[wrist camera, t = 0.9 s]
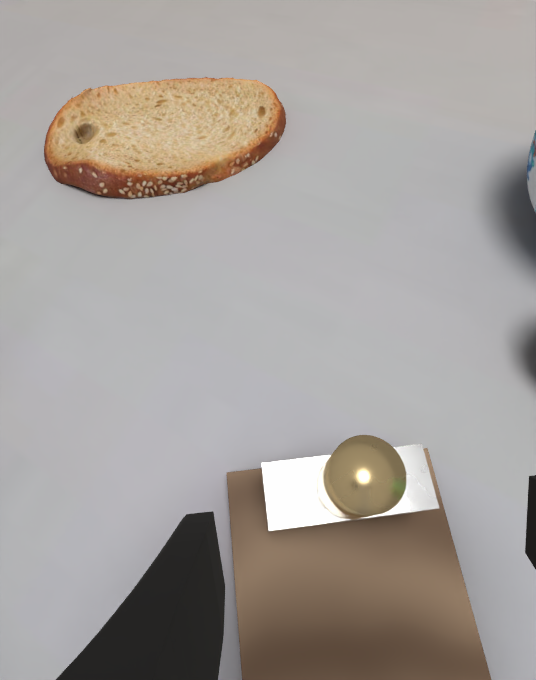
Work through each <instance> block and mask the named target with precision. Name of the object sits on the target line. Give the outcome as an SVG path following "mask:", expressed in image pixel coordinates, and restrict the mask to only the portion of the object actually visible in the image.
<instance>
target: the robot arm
mask: <svg viewBox="0 0 536 680" xmlns="http://www.w3.org/2000/svg"><path fill="white" fill-rule="evenodd" d="M525 553H526V555H527V556H528V558H529V559H530V561H531V563H532V564H533V566H534V568H535V569H536V475H535V476H529V489H528V509H527V529H526V548H525ZM224 606H225V583H224V577H223V570H222V564H221V558H220V551H219V545H218V539H217V533H216V526H215V520H214V514H213V512H204V513H195V514H186V516H185V517H184V518H183V519H182V521H181V522H180V524H179V525H178V526H177V528H176V529H175V531H174V532H173V534H172V535H171V537H170V538H169V540H168V541H167V543H166V544H165V546H164V547H163V549H162V550H161V552H160V553H159V554H158V556H157V557H156V559H155V560H154V562H153V563H152V564H151V566H150V567H149V568H148V570H147V571H146V573H145V574H144V575H143V577H142V578H141V579H140V581H139V582H138V584H137V585H136V586H135V588H134V589H133V590H132V592H131V593H130V594H129V595H128V597H127V598H126V599H125V600H124V602H123V603H122V604H121V605H120V607H119V608H118V609H117V610H116V612H115V613H114V614H113V615H112V617H111V618H110V619H109V620H108V622H107V623H106V624H105V625H104V626H103V628H102V629H101V630H100V631H99V632H98V634H97V635H96V636H95V637H94V638H93V639H92V641H91V642H90V643H89V644H88V645H87V646H86V647H85V649H84V650H83V651H82V652H81V653H80V654H79V655H78V656H77V658H76V659H75V660H74V661H73V662H72V663H71V664H70V665H69V666H68V667H67V668H66V669H65V670H64V672H63V673H62V674H61V675H60V676H59V677H58V678H57V679H56V680H218V673H219V666H220V658H221V651H222V643H223V634H224Z"/></svg>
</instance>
